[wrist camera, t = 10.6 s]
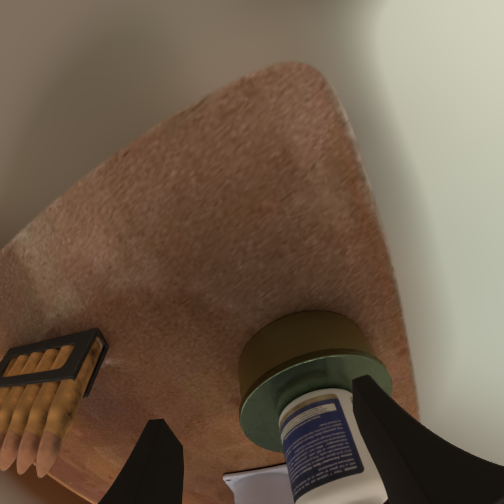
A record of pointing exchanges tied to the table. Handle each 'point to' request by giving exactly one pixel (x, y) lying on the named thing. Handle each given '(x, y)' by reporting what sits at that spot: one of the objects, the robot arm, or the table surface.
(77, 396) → the rifle cartridge clip
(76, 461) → the table surface
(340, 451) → the pill bottle
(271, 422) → the tin
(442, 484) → the robot arm
